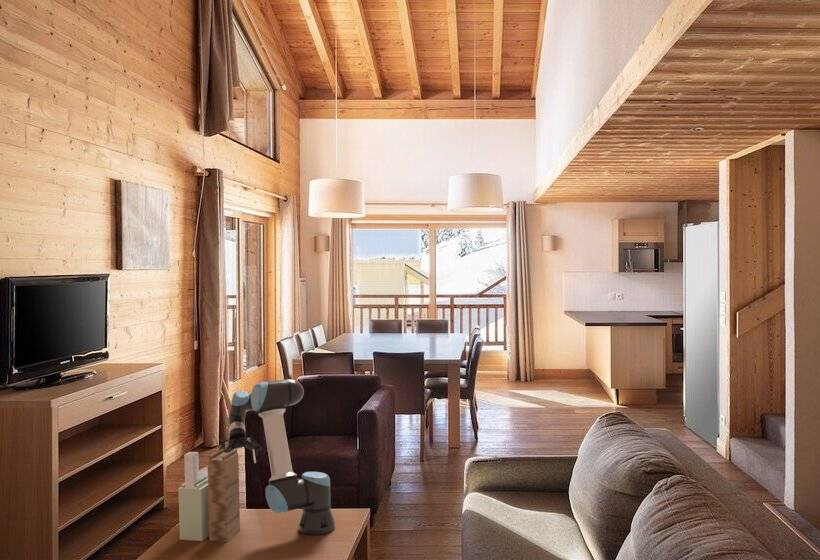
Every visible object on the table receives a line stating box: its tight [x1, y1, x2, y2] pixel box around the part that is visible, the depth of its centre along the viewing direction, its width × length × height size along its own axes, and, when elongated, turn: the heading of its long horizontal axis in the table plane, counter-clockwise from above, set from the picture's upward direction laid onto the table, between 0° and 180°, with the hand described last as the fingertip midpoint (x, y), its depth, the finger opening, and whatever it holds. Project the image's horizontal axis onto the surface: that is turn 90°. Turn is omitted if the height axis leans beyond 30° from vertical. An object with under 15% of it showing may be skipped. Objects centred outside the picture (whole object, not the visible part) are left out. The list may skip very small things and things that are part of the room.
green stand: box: [178, 478, 209, 542], centre depth 270 cm, size 10×12×22 cm
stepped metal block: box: [183, 451, 208, 489], centre depth 274 cm, size 20×4×14 cm, turn 168°
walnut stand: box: [207, 448, 241, 543], centre depth 267 cm, size 8×11×34 cm
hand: (239, 464), depth 287 cm, fingers open, 13 cm apart
